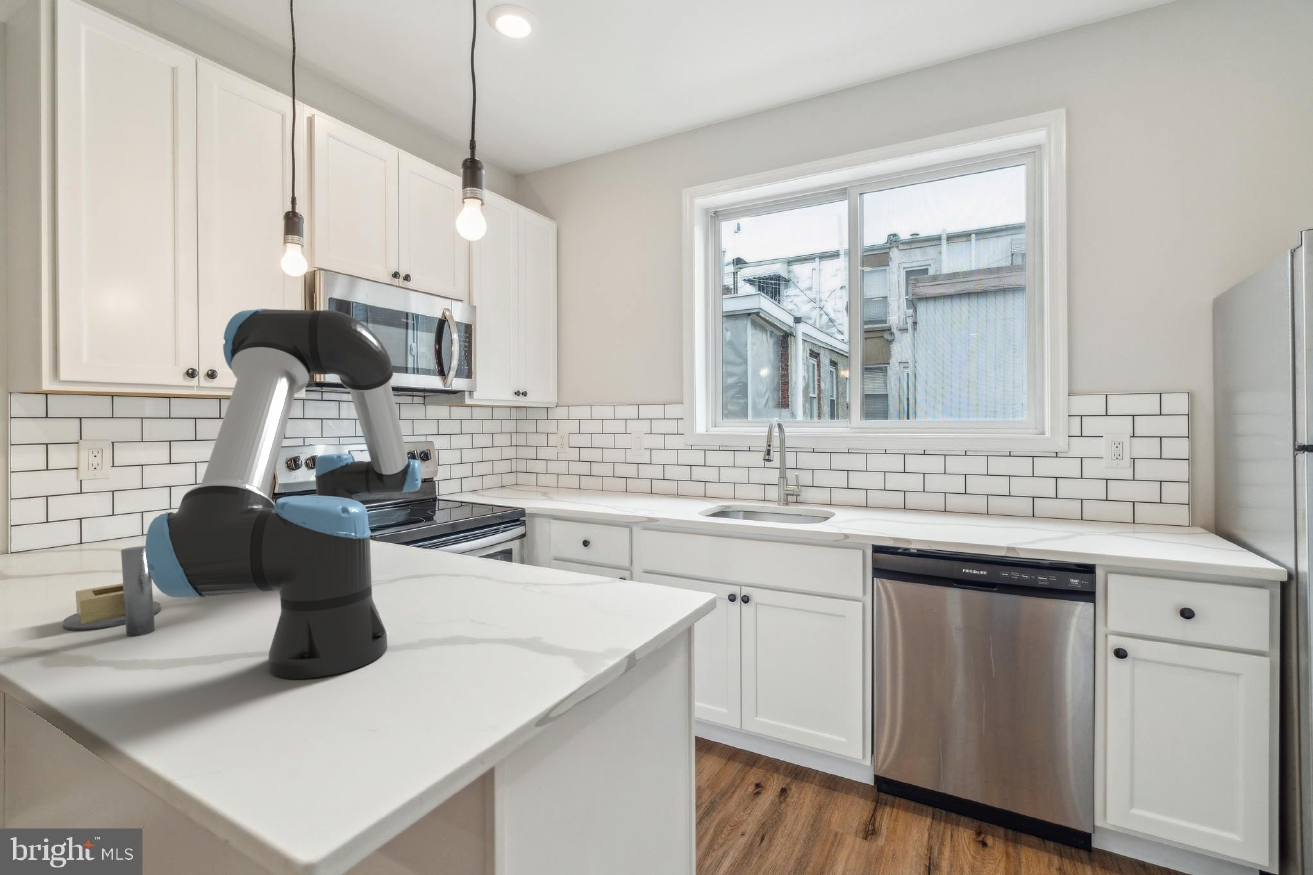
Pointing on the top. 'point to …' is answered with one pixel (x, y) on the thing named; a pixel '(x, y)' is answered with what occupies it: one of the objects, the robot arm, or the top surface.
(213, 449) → the robot arm
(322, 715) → the top surface
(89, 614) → the socket
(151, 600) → the pin
